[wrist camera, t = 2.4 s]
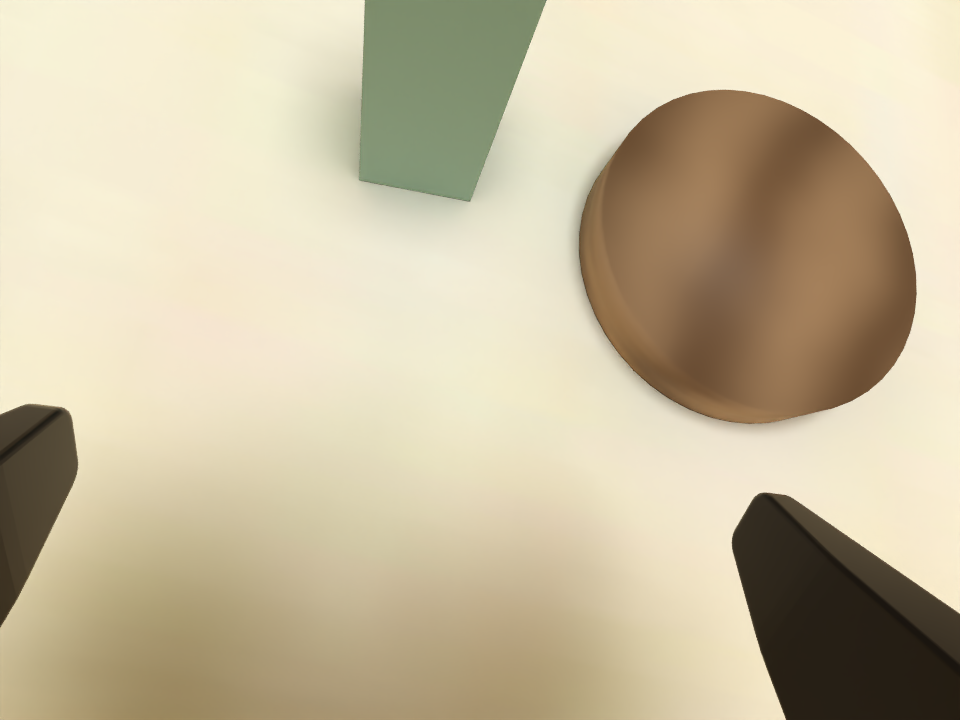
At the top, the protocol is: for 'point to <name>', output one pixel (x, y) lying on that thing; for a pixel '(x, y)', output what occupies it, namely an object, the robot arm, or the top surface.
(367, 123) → the sage green post
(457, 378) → the top surface
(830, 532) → the robot arm
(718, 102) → the walnut base
